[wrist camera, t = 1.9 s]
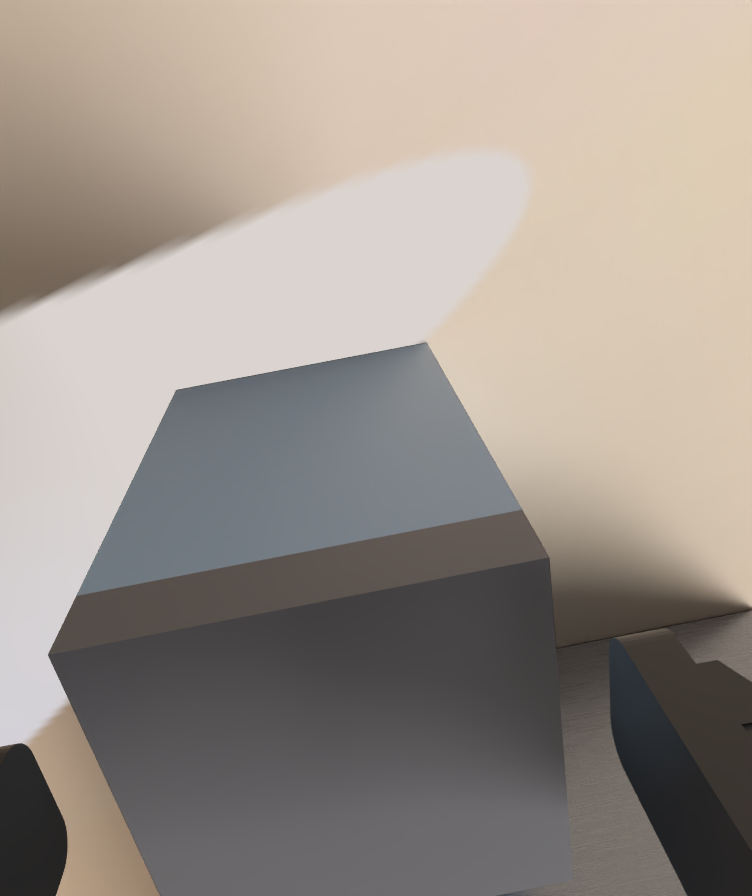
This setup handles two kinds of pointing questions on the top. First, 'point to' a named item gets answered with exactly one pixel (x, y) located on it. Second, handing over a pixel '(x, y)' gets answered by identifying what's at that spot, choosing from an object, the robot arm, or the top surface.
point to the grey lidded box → (325, 646)
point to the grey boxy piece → (621, 768)
